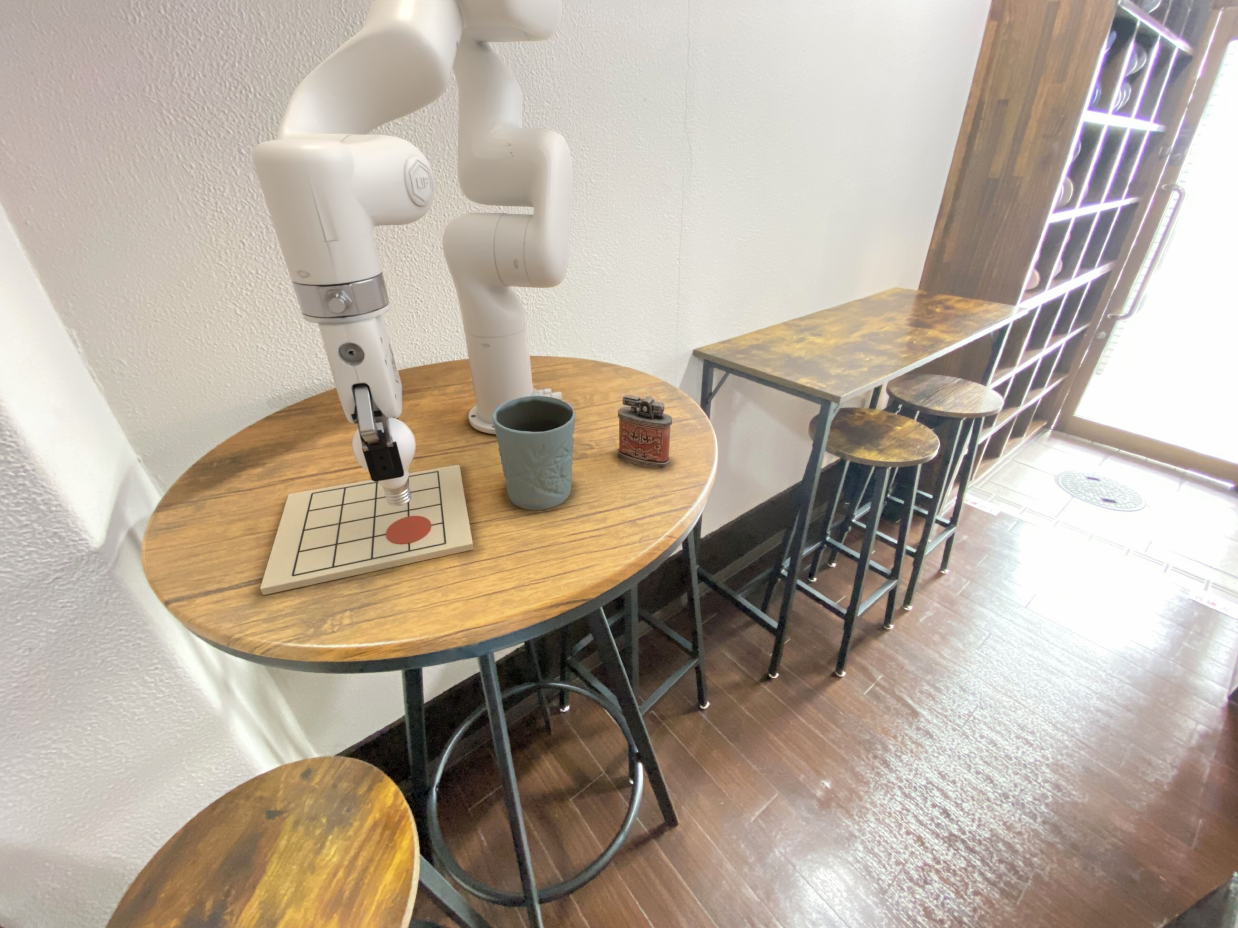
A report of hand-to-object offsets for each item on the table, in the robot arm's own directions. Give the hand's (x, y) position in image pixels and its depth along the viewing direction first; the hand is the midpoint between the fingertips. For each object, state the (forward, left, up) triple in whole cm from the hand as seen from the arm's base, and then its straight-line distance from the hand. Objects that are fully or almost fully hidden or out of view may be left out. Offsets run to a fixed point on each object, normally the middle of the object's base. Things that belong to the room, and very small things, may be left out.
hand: (388, 459), depth 59 cm
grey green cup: (-17, -4, -11) cm, 21 cm away
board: (+4, -4, -11) cm, 12 cm away
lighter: (-33, -7, -11) cm, 36 cm away
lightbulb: (0, 0, -6) cm, 6 cm away
